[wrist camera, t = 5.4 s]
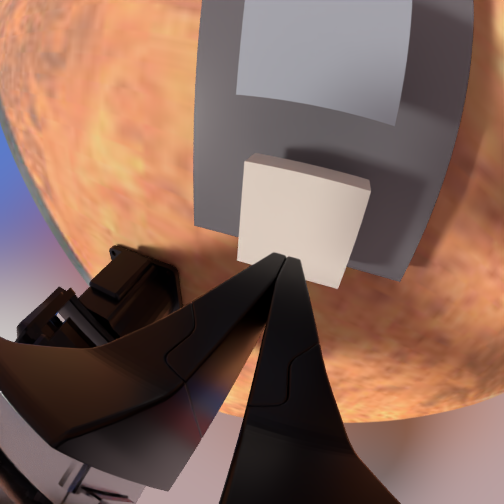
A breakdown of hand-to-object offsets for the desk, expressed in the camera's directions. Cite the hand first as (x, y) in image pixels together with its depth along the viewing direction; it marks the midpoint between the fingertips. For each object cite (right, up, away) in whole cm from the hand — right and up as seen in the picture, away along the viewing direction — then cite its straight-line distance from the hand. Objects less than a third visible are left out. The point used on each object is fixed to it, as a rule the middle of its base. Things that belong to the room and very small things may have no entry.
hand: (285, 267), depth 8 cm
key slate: (+2, +7, -1) cm, 8 cm away
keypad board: (+2, +9, +1) cm, 9 cm away
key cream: (+1, +3, +4) cm, 5 cm away
